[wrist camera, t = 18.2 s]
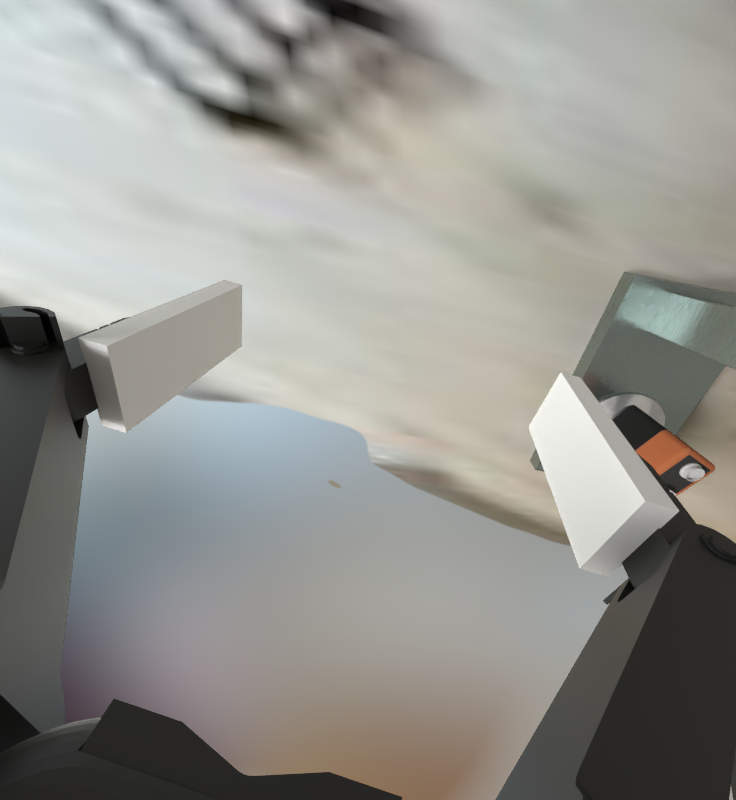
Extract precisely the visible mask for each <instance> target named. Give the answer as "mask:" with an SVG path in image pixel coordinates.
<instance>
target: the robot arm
mask: <svg viewBox="0 0 736 800" xmlns="http://www.w3.org/2000/svg"><path fill="white" fill-rule="evenodd" d="M241 346H242V285H240V284H237V283H233V282H229V281H226V280H223V281H221V282H218V283H216V284H213V285H211V286H208V287H206V288H203V289H201V290H198V291H195V292H193V293H190V294H188V295H185V296H183V297H180V298H178V299H175V300H173V301H170V302H168V303H165V304H162V305H160V306H157V307H155V308H152V309H150V310H147V311H145V312H142V313H140V314H137V315H134V316H132V317H128V318H123V319H121V320H118V321H115V322H113V323H110V325H105V326H103V327H100V328H99V330H98V329H95V330H92V331H90V332H87V333H85V334H82V335H79V336H77V337H74V338H72V339H69V340H67V341H64V342H63V339H62V336H61V333H60V329H59V326H58V323H57V319H56V316H55V313H54V312H52V311H50V310H49V309H45V308H40V307H31V306H12V307H4V308H0V800H402V797H400V796H397V795H394V794H391V793H388V792H385V791H382V790H380V789H377V788H374V787H370V786H368V785H365V784H362V783H359V782H356V781H353V780H350V779H347V778H344V777H342V776H339V775H336V774H333V773H330V772H323V773H305V774H285V775H266V776H247V775H244V774H242V773H240V772H239V771H237V770H236V769H235V768H234V767H233V766H232V765H231V764H229V763H228V762H227V761H226V760H225V759H224V758H223V757H221V756H220V755H219V754H218V753H217V752H216V751H215V750H213V749H212V748H211V747H210V746H209V745H208V744H207V743H205V742H204V741H203V740H202V739H201V738H200V737H198V735H196V734H195V733H194V732H193V731H192V730H190V729H189V728H188V727H187V726H186V725H185V724H184V723H183V722H181V721H177V720H174V719H171V718H169V717H166V716H163V715H160V714H157V713H154V712H151V711H148V710H145V709H143V708H140V707H137V706H134V705H131V704H128V703H125V702H122V701H119V700H116V699H113V701H112V702H111V704H110V705H109V707H108V709H107V710H106V712H105V713H104V715H103V716H102V717H101V718H92V719H87V720H81V721H76V722H72V723H69V724H66V725H65V703H64V702H65V701H64V695H63V689H62V683H61V662H62V653H63V643H64V634H65V627H66V618H67V609H68V600H69V591H70V583H71V575H72V565H73V557H74V547H75V540H76V530H77V522H78V513H79V505H80V495H81V488H82V479H83V470H84V461H85V453H86V444H87V435H88V427H89V426H88V423H87V419H86V415H88V414H89V413H91V412H92V411H94V410H96V409H98V413H99V417H100V420H101V424H102V425H103V426H106V427H109V428H112V429H116V430H119V431H122V432H128V431H129V430H131V429H132V428H133V427H135V426H136V425H137V424H139V423H140V422H141V421H143V420H144V419H145V418H147V417H148V416H149V415H151V414H152V413H153V412H155V411H156V410H157V409H158V408H160V407H161V406H163V405H164V404H165V403H167V402H168V401H169V400H171V399H172V398H173V397H175V396H176V395H177V394H179V393H180V392H181V391H183V390H184V389H185V388H187V387H188V386H189V385H191V384H192V383H193V382H195V381H196V380H197V379H199V378H200V377H201V376H203V375H204V374H205V373H206V372H208V371H209V370H210V369H212V368H213V367H214V366H216V365H217V364H218V363H220V362H221V361H222V360H224V359H225V358H226V357H228V356H229V355H230V354H232V353H233V352H234V351H236V350H237V349H238V348H240V347H241ZM529 430H530V433H531V436H532V439H533V441H534V444H535V447H536V450H537V452H538V455H539V458H540V461H541V463H542V466H543V469H544V472H545V475H546V477H547V480H548V483H549V486H550V488H551V491H552V494H553V497H554V499H555V502H556V505H557V508H558V511H559V513H560V516H561V519H562V522H563V524H564V527H565V530H566V533H567V535H568V538H569V541H570V544H571V547H572V549H573V552H574V555H575V557H576V560H577V563H578V566H579V569H582V570H585V571H589V572H592V573H595V574H599V575H602V576H605V577H609V576H610V575H611V574H612V573H613V572H614V571H615V570H616V569H617V568H618V567H620V566H621V565H622V564H623V566H624V568H625V570H626V572H627V574H628V577H629V578H628V579H627V580H626V581H625V582H624V583H623V584H622V585H620V586H619V587H618V588H617V589H616V590H615V591H614V592H612V593H611V594H610V595H609V596H608V597H607V598H606V599H605V600H603V601H604V602H605V603H606V604H609V603H610V604H609V606H608V608H607V609H606V611H605V613H604V614H603V616H602V618H601V619H600V621H599V623H598V625H597V626H596V628H595V630H594V631H593V633H592V635H591V637H590V638H589V640H588V642H587V644H586V645H585V647H584V649H583V650H582V652H581V654H580V655H579V657H578V659H577V661H576V662H575V664H574V666H573V667H572V669H571V671H570V673H569V674H568V676H567V678H566V680H565V681H564V683H563V685H562V686H561V688H560V690H559V692H558V693H557V695H556V697H555V698H554V700H553V702H552V704H551V705H550V707H549V709H548V711H547V712H546V714H545V716H544V717H543V719H542V721H541V722H540V724H539V726H538V728H537V729H536V731H535V733H534V735H533V736H532V738H531V740H530V741H529V743H528V745H527V747H526V748H525V750H524V752H523V754H522V755H521V757H520V759H519V760H518V762H517V764H516V766H515V767H514V769H513V771H512V772H511V774H510V776H509V777H508V779H507V781H506V783H505V784H504V786H503V788H502V790H501V791H500V793H499V795H498V796H497V798H496V800H729V794H730V787H732V793H733V799H734V800H736V544H735V543H734V542H733V541H731V540H730V539H729V538H727V537H726V536H724V535H722V534H721V533H719V532H717V531H715V530H713V529H711V528H708V527H706V526H703V525H699V524H696V523H695V521H694V520H693V519H692V517H691V516H690V515H689V514H688V512H687V511H686V510H685V508H684V507H683V506H682V504H681V503H680V502H679V500H678V499H677V498H676V497H675V495H674V494H673V493H672V492H670V489H669V487H668V486H667V485H666V483H665V482H664V481H662V478H661V477H660V476H659V474H658V473H657V472H656V470H655V469H654V468H653V466H652V465H650V464H649V463H648V462H647V461H646V460H645V459H643V458H642V457H641V456H640V455H639V454H638V453H636V452H635V450H634V449H633V448H632V446H631V445H630V444H629V442H628V441H627V439H626V438H625V437H624V435H623V434H622V433H621V431H620V430H619V429H618V427H617V426H616V425H615V423H614V422H613V421H612V419H611V418H610V417H609V415H608V414H607V413H606V411H605V410H604V408H603V407H602V406H601V404H600V403H599V402H598V400H597V399H596V398H595V396H594V395H593V394H592V392H591V391H590V390H589V388H588V387H587V386H586V384H585V383H584V382H583V380H582V379H581V377H577V376H574V375H570V374H566V373H563V372H561V373H560V374H559V376H558V378H557V379H556V381H555V383H554V384H553V386H552V388H551V390H550V391H549V393H548V395H547V396H546V398H545V400H544V401H543V403H542V405H541V407H540V408H539V410H538V412H537V413H536V415H535V417H534V418H533V420H532V422H531V423H530V425H529Z"/></svg>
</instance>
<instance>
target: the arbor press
mask: <svg viewBox="0 0 736 800" xmlns="http://www.w3.org/2000/svg"><path fill="white" fill-rule="evenodd" d="M725 365H727V366H729V367H732V368H734V369H736V294H733V293H728V292H723V291H718V290H713V289H708V288H702V287H697V286H692V285H687V284H682V283H677V282H672V281H667V280H662V279H657V278H652V277H647V276H642V275H636V274H631V273H626V272H624V274H623V276H622V278H621V280H620V282H619V284H618V286H617V288H616V290H615V292H614V294H613V296H612V298H611V300H610V302H609V304H608V306H607V308H606V310H605V312H604V314H603V316H602V318H601V320H600V322H599V324H598V326H597V328H596V330H595V332H594V334H593V336H592V338H591V340H590V342H589V344H588V346H587V348H586V350H585V352H584V354H583V356H582V358H581V360H580V362H579V364H578V366H577V368H576V370H575V372H574V374H573V375H574V376H577V377H581V379H582V380H583V382H584V383H585V384H586V386H587V387H588V388H589V390H590V391H591V392H592V394H593V395H594V396H595V398H596V399H597V400H598V402H599V403H600V404H601V406H602V407H603V408H604V410H605V411H606V413H607V414H608V415H609V417H610V418H611V419H612V420H613V419H614V418H615V417H616V416H618V415H619V414H620V413H621V412H622V411H624V410H625V409H626V408H627V407H628V406H630V405H635V406H637V407H638V408H639V409H641V410H642V411H643V412H645V413H646V414H648V415H649V416H650V417H652V418H653V419H654V420H656V421H657V422H658V423H660V424H661V425H662V426H664V427H665V428H666V429H667V430H669V431H670V432H671V433H673V434H674V435H676V434H677V432H678V431H679V429H680V428H681V427H682V425H683V424H684V422H685V421H686V420H687V418H688V417H689V415H690V414H691V413H692V411H693V410H694V409H695V407H696V406H697V404H698V403H699V402H700V400H701V399H702V397H703V396H704V395H705V393H706V392H707V390H708V389H709V388H710V386H711V385H712V383H713V382H714V381H715V379H716V378H717V377H718V375H719V374H720V372H721V371H722V370H723V368H724V367H725ZM530 461H531V463H532V465H533V466H534V468H535V470H539V471H544V469H543V466H542V463H541V461H540V458H539V455H538V452H537V450H535V452H534V454H533V456H532V458H531V460H530Z"/></svg>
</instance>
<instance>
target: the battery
mask: <svg viewBox="0 0 736 800" xmlns="http://www.w3.org/2000/svg"><path fill="white" fill-rule="evenodd" d="M612 421H613V422H614V423H615V425H616V426H617V427H618V429H619V430H620V431H621V433H622V434H623V435H624V437H625V438H626V439H627V441H628V442H629V444H630V445H631V446H632V448H633V449H634V450H635V452H636V453H638V454H639V455H640V456H641V457H642V458H643V459H645V460H646V461H647V462H648V463H649V464H650V465H652V466H653V468H654V469H655V470H656V472H657V473H658V474H659V476H660V477H661V478H662V481H664V482H665V483H666V485H667V486H668V487H669V489H670V492H672V493H673V494H674V495H675V496H677V495H678V494H680V493H681V492H683V491H685V490H686V489H688V488H689V487H691V486H692V485H694V484H695V483H697V482H698V481H700V480H701V479H703V478H704V477H706V476H707V475H709V474H710V473H711V472H713V471H714V470H715V466H714V465H713V464H712V463H711V462H709V461H708V460H707V459H706V458H704V457H703V456H702V455H700V454H699V453H698V452H696V451H695V450H694V449H692V448H691V447H690V446H688V445H687V444H686V443H685V442H683V441H682V440H681V439H679V438H678V437H677V436H675V435H674V434H673V433H671V432H670V431H669V430H667V429H666V428H665V427H664V426H662V425H661V424H660V423H658V422H657V421H656V420H654V419H653V418H652V417H650V416H649V415H648V414H646V413H645V412H643V411H642V410H641V409H639V408H638V407H637V406H635V405H630V406H628V407H627V408H626V409H625V410H624V411H622V412H621V413H620V414H619V415H618V416H616V417H615V418H614V419H613V420H612Z"/></svg>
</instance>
